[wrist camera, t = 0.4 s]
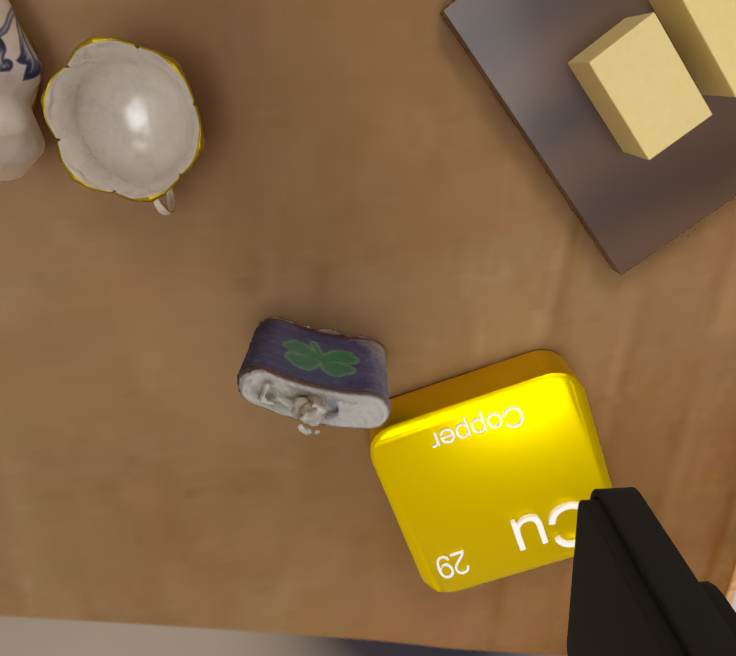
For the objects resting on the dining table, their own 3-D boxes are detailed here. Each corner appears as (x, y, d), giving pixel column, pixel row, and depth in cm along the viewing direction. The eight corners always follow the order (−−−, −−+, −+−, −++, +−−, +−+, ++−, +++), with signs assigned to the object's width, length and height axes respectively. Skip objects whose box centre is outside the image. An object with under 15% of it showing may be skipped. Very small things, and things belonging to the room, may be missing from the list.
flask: (389, 341, 47) (396, 415, 37) (378, 377, 48) (383, 459, 38) (259, 310, 46) (231, 378, 36) (251, 348, 47) (222, 424, 37)
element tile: (560, 339, 47) (580, 367, 43) (608, 506, 52) (631, 547, 48) (360, 406, 49) (360, 440, 45) (425, 562, 54) (431, 606, 50)
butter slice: (566, 63, 39) (588, 62, 36) (626, 16, 39) (654, 11, 35) (623, 152, 41) (649, 161, 38) (680, 110, 41) (713, 114, 37)
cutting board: (439, 12, 40) (442, 10, 38) (712, -217, 36) (727, -228, 35) (612, 269, 46) (621, 275, 44) (864, 95, 42) (881, 96, 40)
